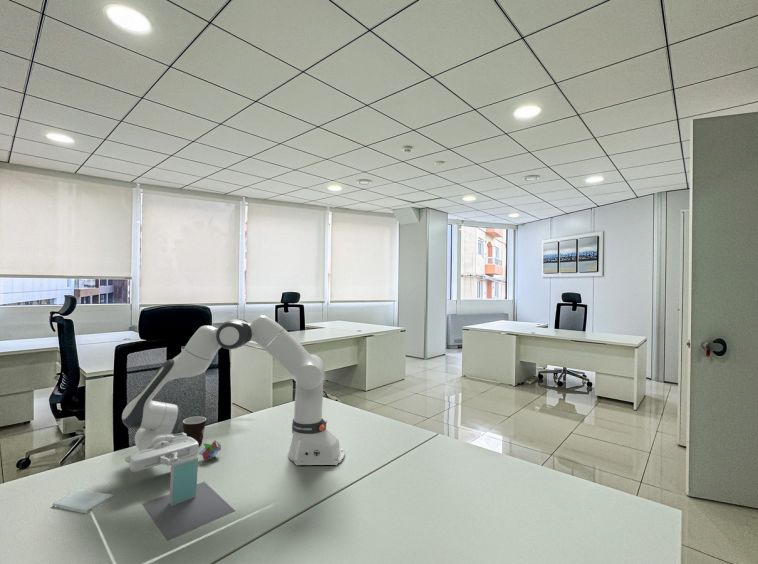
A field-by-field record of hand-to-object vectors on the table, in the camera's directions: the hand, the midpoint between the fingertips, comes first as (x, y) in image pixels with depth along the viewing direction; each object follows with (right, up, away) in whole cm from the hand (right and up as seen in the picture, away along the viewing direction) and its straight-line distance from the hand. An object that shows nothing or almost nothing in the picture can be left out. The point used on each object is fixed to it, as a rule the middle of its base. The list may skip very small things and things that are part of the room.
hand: (173, 462), depth 116 cm
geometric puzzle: (+2, -9, +20) cm, 22 cm away
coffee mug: (-10, -9, +34) cm, 36 cm away
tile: (+7, -8, -7) cm, 13 cm away
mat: (+10, -9, -10) cm, 17 cm away
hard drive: (-22, -8, -9) cm, 25 cm away
